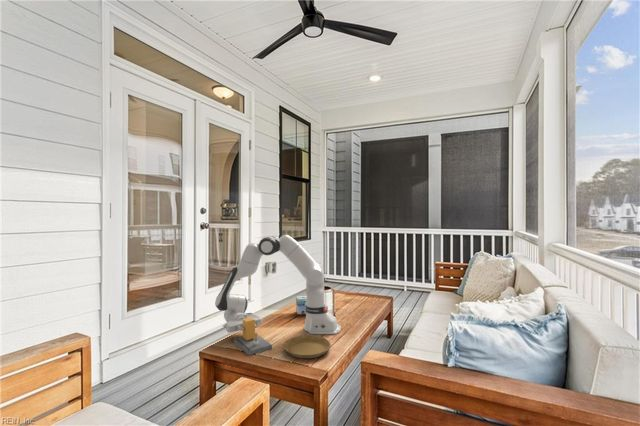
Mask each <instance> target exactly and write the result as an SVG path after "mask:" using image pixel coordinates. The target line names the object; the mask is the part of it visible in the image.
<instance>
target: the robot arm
mask: <svg viewBox="0 0 640 426" xmlns="http://www.w3.org/2000/svg"><path fill="white" fill-rule="evenodd" d="M277 252H280V253H281V254H282V255H284V256H285V257H286V258H287V259H288V261H290V263H292V264H293V266H295V267H296V269H297V270H298V272H299V273H300V275H301V276H302V277H304V279H305V280H306V282H305V284H306V285H305V286H306V287H305V288H306V291H305V296H306V307H305V312H306V314H305V320H304V321H305V322H304V326H303V329H304V331H306V332H308V333H309V334H310V335H336V334H338V333H340V332H341V330H342V327H341V326H342V325H340V324H338V319H337V318H336V317H335V315H333V314H332V313H331V312H329V310H328V309H329V305H325V269H324V266H322V265H321V264H320V263H318V262H316V261H315V260H314V258H313V257H312V256H311V255H310V253H308V252H307V250H306V249H305V248H304V247H303V246H302V245H301V244H300V243H299V242H298V241H297V240H296V239H294V238H293V237H292V236H290V235H289V234H284V235H281V236H280V237H279V238H276V237H275V236H271V235H267V236H264V237H263V238H262V239H261V240H260V241H259V243H255V242H251V243H248V244H247V245H246V247H245V248H244V250H243V253H242V255H241V258H240V261H239V262H238V264H237V265H236V266H235V267H233V268H232V269H231V270H230V272H229V274H228V275H227V278H226V280H225V282H224V284H223V286H222V288H221V290H220V291H219V293H218V294H217V296H216V298H215V302H214V303H215V307H216V308H217V310H218V311H220V312H222V311H224V312H223V318H224V320H225V321H226V322H225V323H224V324H223V325H222V327H223V328H224V329H225V331H226V332H227V333H234V332H237V331H240V332H243V331H245V327H243V319H246V318H250V317H251V318H253V319H255V329H256V328H257V326H261V325H262V322H263V321H262V320H263V319H262V317H260V316H259V315H256V314H254V312H246V311H247V308H248V304H249V303H248V300H247V297H246V296H245V295H244V294H238V293H237V294H235V293H231V290H232V289H233V287H234V285H235V283H236V282H237V281H238V280H241V279H242V278H248V277H250V276H253V275H254V274H255V273H256V272H257V270H258V269H259V265H260V261H261V259H262V256H271V255H273V254H275V253H277Z"/></svg>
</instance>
